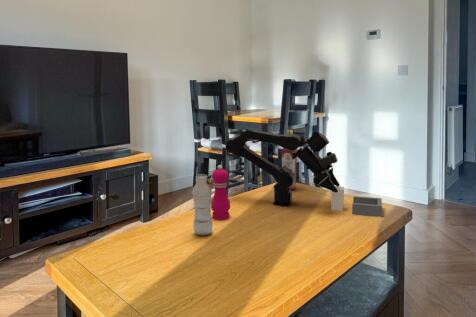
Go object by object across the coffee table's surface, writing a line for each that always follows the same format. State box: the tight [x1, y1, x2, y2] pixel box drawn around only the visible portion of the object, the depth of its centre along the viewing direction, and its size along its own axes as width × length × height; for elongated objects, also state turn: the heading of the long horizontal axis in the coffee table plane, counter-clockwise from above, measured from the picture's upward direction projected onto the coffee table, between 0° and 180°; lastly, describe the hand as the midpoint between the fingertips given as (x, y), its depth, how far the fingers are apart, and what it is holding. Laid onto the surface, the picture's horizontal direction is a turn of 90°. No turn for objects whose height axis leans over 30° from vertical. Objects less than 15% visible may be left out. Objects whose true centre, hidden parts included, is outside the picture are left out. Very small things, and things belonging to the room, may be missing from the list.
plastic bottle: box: [191, 173, 214, 236], centre depth 129 cm, size 6×7×20 cm
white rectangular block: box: [330, 185, 345, 212], centre depth 155 cm, size 4×4×8 cm
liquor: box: [281, 129, 299, 191], centre depth 181 cm, size 7×7×28 cm
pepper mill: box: [210, 164, 231, 221], centre depth 145 cm, size 7×7×20 cm
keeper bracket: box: [351, 195, 383, 217], centre depth 152 cm, size 10×11×4 cm
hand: (338, 188), depth 154 cm, fingers open, 9 cm apart
